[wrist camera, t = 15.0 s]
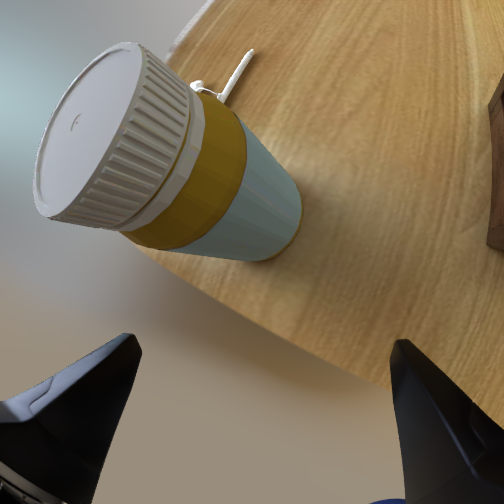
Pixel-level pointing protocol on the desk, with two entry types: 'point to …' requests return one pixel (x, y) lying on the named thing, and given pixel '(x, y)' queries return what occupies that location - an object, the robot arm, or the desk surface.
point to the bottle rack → (497, 169)
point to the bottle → (161, 164)
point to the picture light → (222, 97)
